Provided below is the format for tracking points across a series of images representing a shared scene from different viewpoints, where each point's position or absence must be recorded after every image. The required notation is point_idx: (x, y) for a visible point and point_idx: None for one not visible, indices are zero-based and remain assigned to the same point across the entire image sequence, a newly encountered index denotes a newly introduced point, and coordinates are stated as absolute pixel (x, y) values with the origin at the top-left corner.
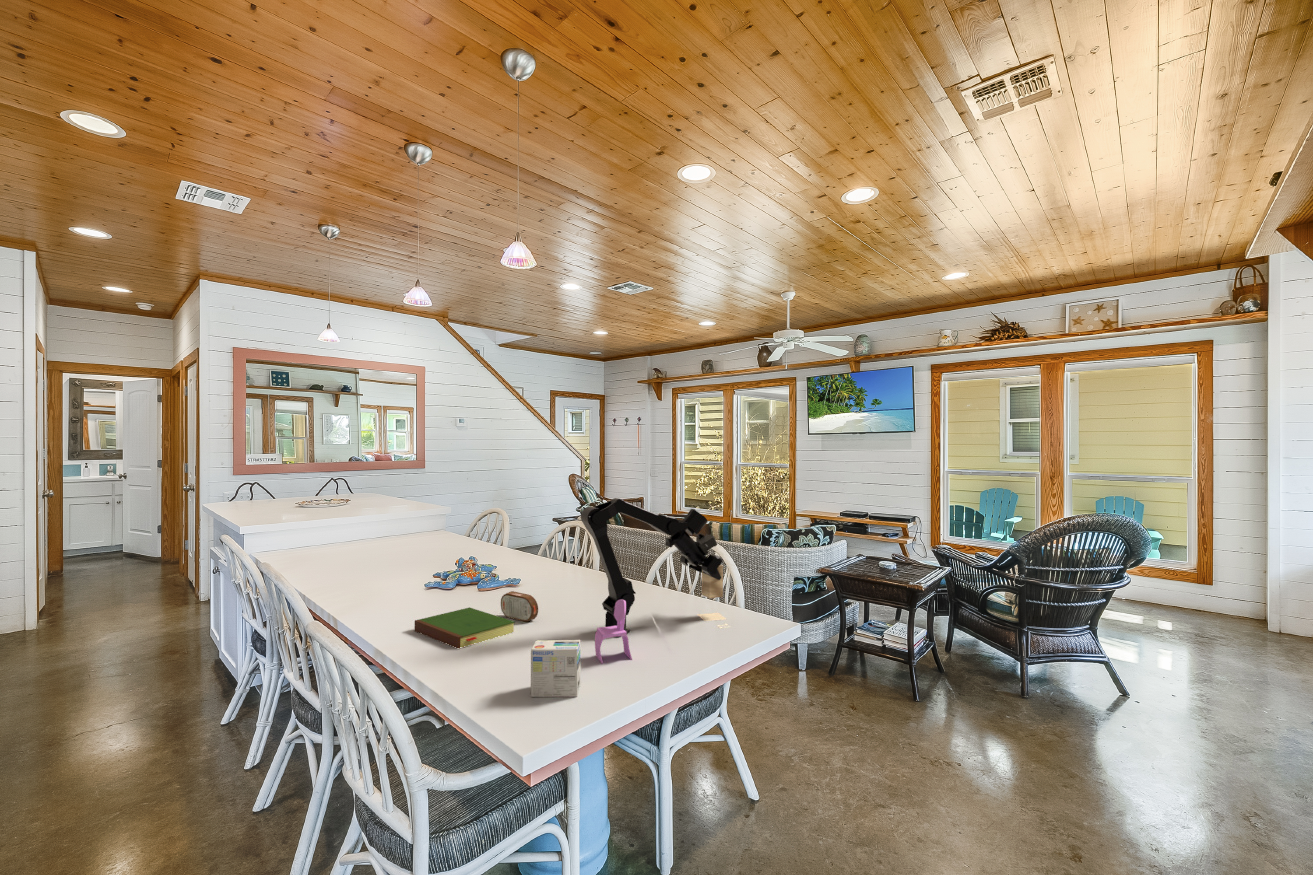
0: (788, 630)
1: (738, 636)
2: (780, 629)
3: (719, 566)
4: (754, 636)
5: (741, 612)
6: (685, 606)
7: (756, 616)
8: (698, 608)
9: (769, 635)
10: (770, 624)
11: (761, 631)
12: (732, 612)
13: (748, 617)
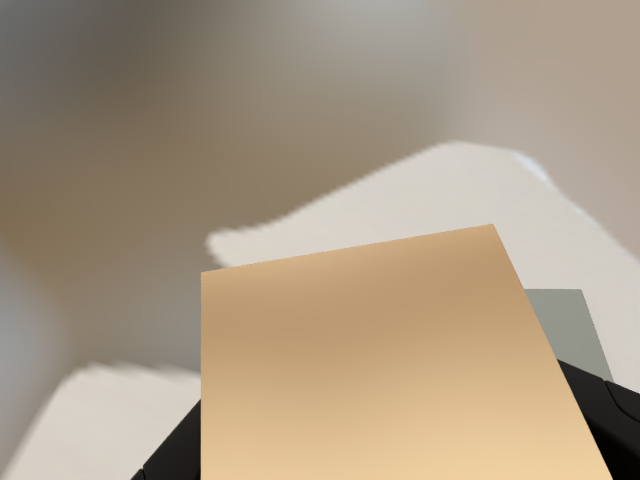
0: (533, 163)
1: (630, 377)
2: (521, 181)
3: (520, 299)
4: (620, 306)
5: (284, 224)
6: (73, 459)
7: (351, 194)
8: (145, 394)
9: (599, 244)
10: (458, 188)
11: (548, 252)
12: (272, 258)
13: (357, 225)
